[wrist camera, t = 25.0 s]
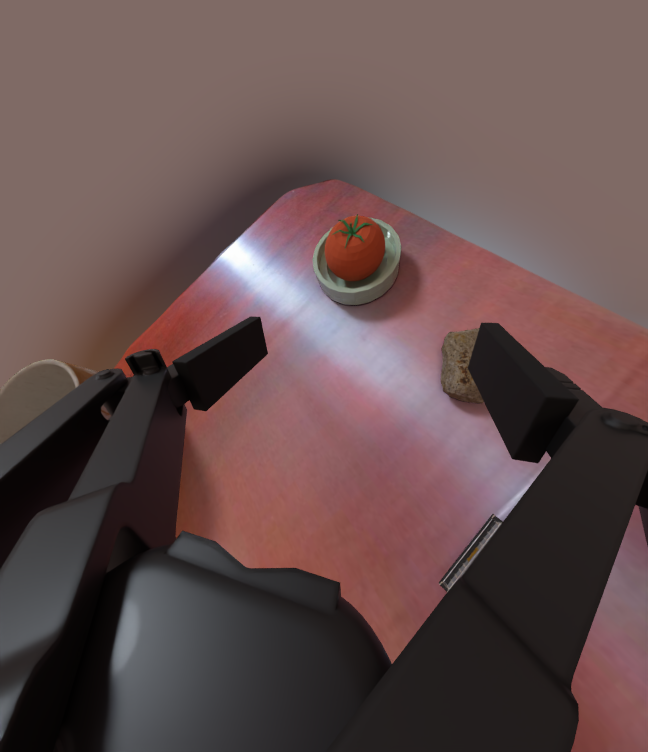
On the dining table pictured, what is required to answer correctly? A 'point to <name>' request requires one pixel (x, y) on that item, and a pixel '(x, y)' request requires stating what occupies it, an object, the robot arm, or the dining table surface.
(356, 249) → the tomato
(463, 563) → the blue grey flat device
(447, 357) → the rock
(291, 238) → the dining table surface
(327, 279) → the bowl
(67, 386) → the planter
